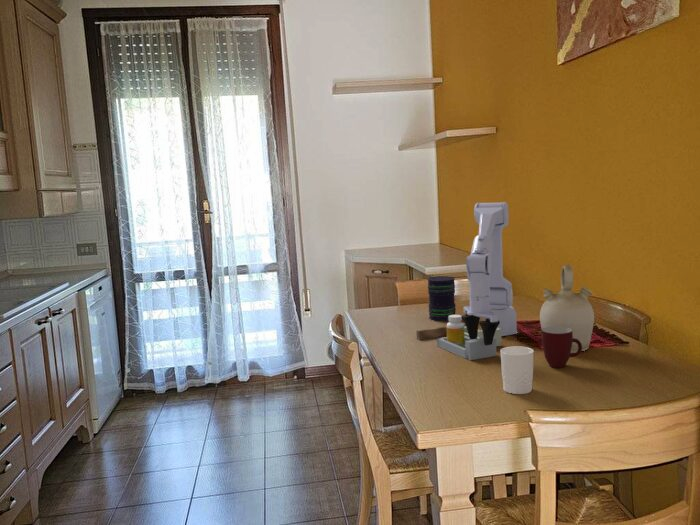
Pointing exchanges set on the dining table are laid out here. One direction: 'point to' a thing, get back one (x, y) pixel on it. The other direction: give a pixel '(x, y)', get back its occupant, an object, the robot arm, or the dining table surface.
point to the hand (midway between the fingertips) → (480, 341)
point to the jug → (569, 310)
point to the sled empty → (480, 335)
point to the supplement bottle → (456, 330)
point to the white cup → (517, 369)
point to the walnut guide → (432, 332)
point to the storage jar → (441, 297)
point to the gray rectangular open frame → (469, 348)
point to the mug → (558, 345)
